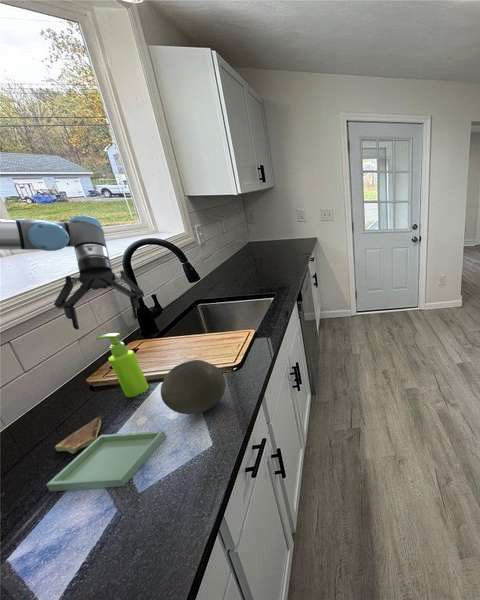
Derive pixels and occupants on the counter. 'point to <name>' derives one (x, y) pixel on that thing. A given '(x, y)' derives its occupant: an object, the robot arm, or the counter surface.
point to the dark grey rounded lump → (193, 387)
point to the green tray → (108, 461)
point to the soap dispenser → (126, 367)
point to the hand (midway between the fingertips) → (107, 322)
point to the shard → (81, 437)
